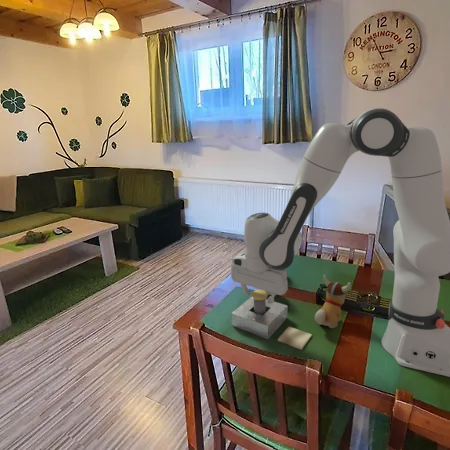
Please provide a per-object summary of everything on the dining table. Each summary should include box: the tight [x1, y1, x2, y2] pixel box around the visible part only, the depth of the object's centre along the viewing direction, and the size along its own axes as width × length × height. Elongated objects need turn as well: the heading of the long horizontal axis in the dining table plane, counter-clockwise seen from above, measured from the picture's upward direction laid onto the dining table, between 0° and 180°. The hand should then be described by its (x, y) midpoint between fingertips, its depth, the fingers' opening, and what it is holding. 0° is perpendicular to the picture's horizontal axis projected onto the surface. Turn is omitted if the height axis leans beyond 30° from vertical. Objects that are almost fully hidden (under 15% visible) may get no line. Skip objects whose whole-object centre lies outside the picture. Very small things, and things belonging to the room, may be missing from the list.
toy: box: [314, 274, 352, 329], centre depth 110 cm, size 10×16×15 cm, turn 135°
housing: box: [231, 295, 288, 340], centre depth 114 cm, size 14×14×5 cm
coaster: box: [277, 326, 312, 351], centre depth 105 cm, size 8×8×1 cm
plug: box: [251, 289, 268, 316], centre depth 113 cm, size 5×5×11 cm
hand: (258, 298), depth 112 cm, fingers open, 8 cm apart
